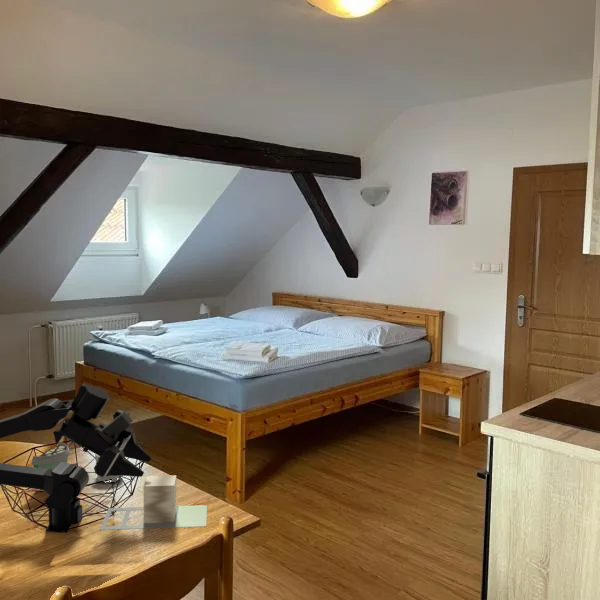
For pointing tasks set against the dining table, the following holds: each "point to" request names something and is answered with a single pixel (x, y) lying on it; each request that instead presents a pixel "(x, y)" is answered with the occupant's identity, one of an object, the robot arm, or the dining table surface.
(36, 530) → the dining table surface
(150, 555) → the dining table surface
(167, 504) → the block
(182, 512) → the plate
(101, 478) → the cup
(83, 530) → the dining table surface
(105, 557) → the dining table surface
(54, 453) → the food container
